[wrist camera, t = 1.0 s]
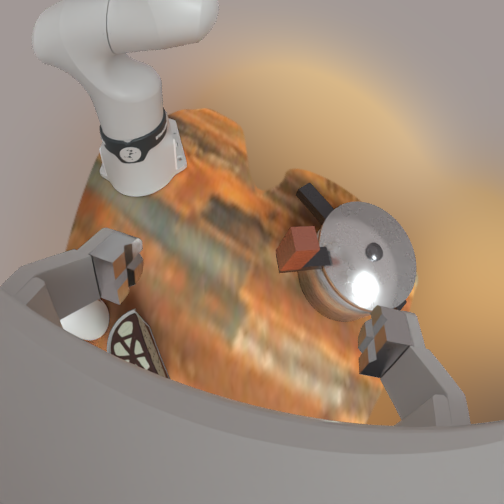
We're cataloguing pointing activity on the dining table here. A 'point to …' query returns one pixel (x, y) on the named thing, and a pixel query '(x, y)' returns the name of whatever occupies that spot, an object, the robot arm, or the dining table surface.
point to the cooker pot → (315, 280)
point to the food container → (135, 343)
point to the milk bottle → (88, 321)
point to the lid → (355, 255)
